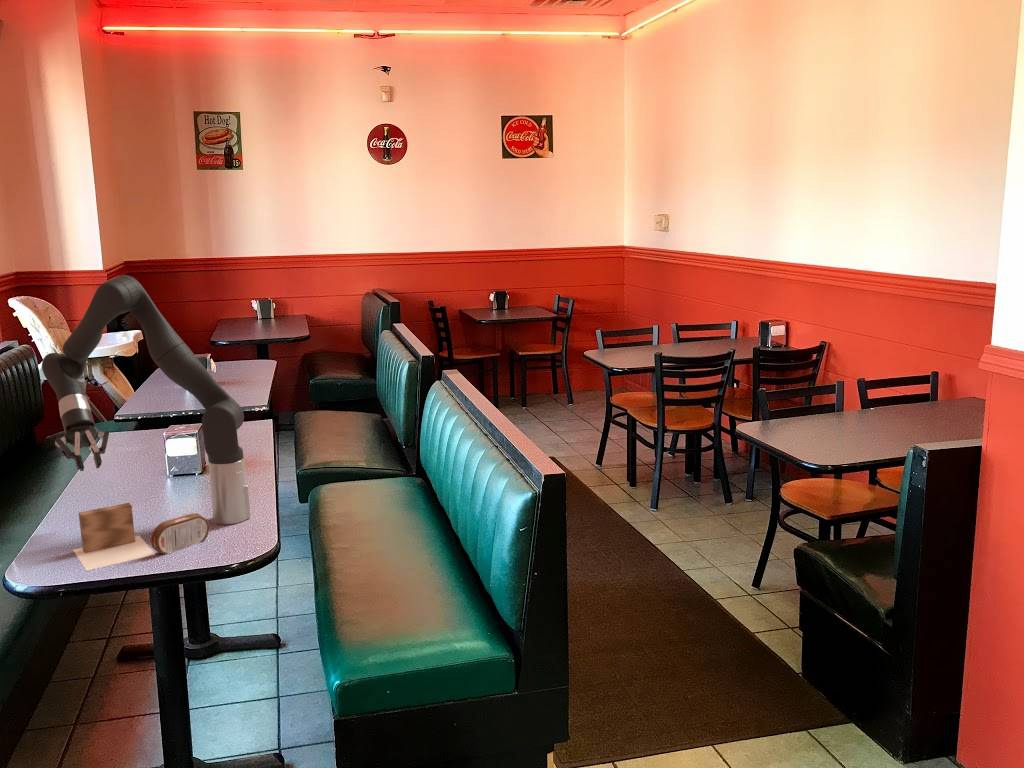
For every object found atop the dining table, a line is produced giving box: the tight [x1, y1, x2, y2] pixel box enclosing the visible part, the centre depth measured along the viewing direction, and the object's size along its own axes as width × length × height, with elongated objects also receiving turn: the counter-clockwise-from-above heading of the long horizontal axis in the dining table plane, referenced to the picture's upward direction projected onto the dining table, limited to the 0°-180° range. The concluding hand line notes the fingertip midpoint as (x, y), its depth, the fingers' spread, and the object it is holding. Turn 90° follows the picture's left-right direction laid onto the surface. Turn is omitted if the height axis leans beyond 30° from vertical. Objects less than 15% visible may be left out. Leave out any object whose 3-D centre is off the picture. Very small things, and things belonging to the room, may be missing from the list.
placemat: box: [72, 535, 156, 571], centre depth 224 cm, size 16×16×1 cm
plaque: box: [78, 502, 136, 553], centre depth 227 cm, size 12×3×10 cm, turn 126°
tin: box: [150, 512, 210, 555], centre depth 226 cm, size 15×3×8 cm, turn 141°
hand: (90, 467), depth 235 cm, fingers open, 3 cm apart
